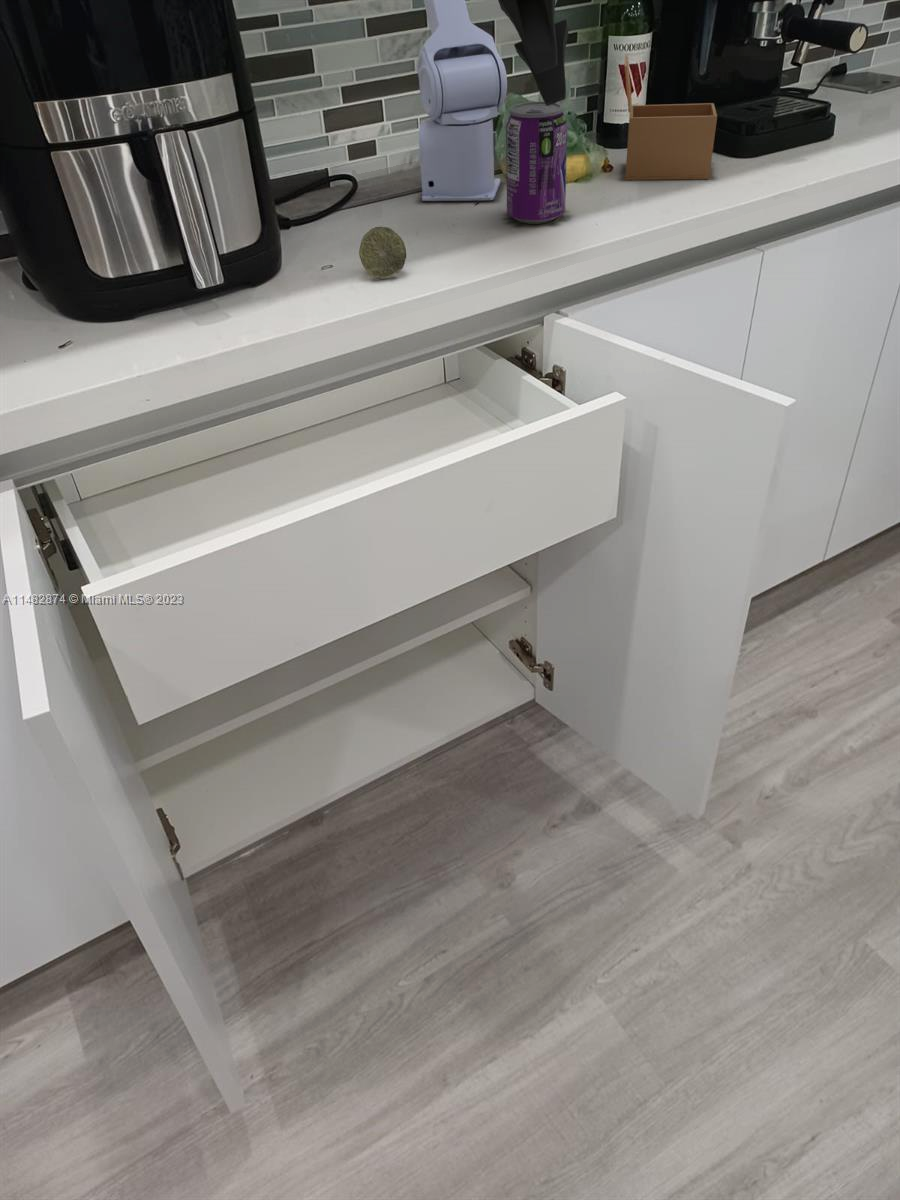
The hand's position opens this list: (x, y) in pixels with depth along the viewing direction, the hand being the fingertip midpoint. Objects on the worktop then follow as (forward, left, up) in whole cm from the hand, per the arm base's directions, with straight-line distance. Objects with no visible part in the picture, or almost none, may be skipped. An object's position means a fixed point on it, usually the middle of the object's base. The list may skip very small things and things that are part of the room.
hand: (551, 86), depth 86 cm
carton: (+13, +31, -17) cm, 37 cm away
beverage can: (-3, +13, -17) cm, 21 cm away
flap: (+8, +31, -6) cm, 32 cm away
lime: (-18, -6, -17) cm, 25 cm away
